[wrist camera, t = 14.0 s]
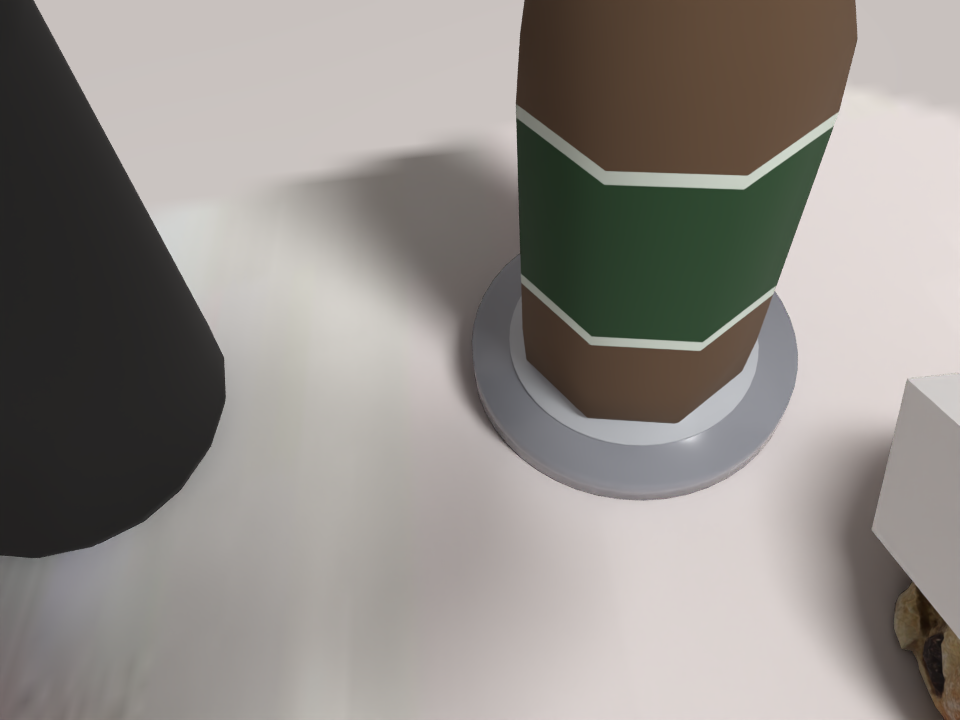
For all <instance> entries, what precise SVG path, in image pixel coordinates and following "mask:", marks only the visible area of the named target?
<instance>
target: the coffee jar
mask: <svg viewBox="0 0 960 720" xmlns="http://www.w3.org/2000/svg"><path fill="white" fill-rule="evenodd" d="M225 398H226V395H225V370H224V357H223V355H222V353H221V350H220V348H219V346H218V344H217V342H216V340H215V338H214V336H213V334H212V332H211V330H210V328H209V326H208V324H207V322H206V320H205V318H204V316H203V314H202V313H201V311H200V309H199V307H198V305H197V303H196V301H195V299H194V298H193V296H192V294H191V292H190V290H189V288H188V286H187V285H186V283H185V281H184V279H183V277H182V275H181V273H180V272H179V270H178V268H177V266H176V264H175V262H174V260H173V259H172V257H171V255H170V253H169V251H168V249H167V247H166V246H165V244H164V242H163V240H162V238H161V236H160V234H159V233H158V231H157V229H156V227H155V225H154V223H153V221H152V220H151V218H150V216H149V214H148V212H147V210H146V208H145V207H144V205H143V203H142V201H141V199H140V197H139V196H138V194H137V192H136V190H135V188H134V186H133V184H132V182H131V181H130V179H129V177H128V175H127V173H126V171H125V169H124V168H123V166H122V164H121V162H120V160H119V158H118V157H117V155H116V153H115V151H114V149H113V147H112V145H111V143H110V142H109V140H108V138H107V136H106V134H105V132H104V130H103V129H102V127H101V125H100V123H99V121H98V119H97V117H96V116H95V114H94V112H93V110H92V108H91V107H90V104H89V103H88V101H87V99H86V97H85V95H84V93H83V92H82V90H81V88H80V86H79V84H78V82H77V80H76V79H75V76H74V75H73V73H72V71H71V69H70V67H69V65H68V64H67V62H66V60H65V58H64V56H63V54H62V52H61V50H60V49H59V47H58V45H57V43H56V41H55V39H54V38H53V36H52V34H51V32H50V30H49V28H48V26H47V24H46V23H45V21H44V19H43V17H42V15H41V13H40V12H39V10H38V8H37V6H36V4H35V2H34V0H0V555H5V556H16V557H27V558H41V557H45V556H50V555H55V554H60V553H64V552H69V551H74V550H79V549H84V548H88V547H92V546H94V545H96V544H99V543H102V542H104V541H106V540H108V539H110V538H112V537H114V536H116V535H118V534H120V533H122V532H124V531H126V530H128V529H130V528H132V527H134V526H136V525H138V524H140V523H142V522H144V521H145V520H146V519H147V518H149V517H150V516H151V515H152V514H153V513H154V512H156V511H157V510H158V509H159V508H160V507H161V506H163V505H164V504H165V503H166V502H167V501H168V500H170V499H171V498H172V497H173V496H174V495H175V494H177V493H178V492H179V491H180V490H181V489H182V487H183V486H184V485H185V483H186V482H187V480H188V479H189V477H190V476H191V474H192V473H193V472H194V470H195V469H196V467H197V466H198V464H199V463H200V462H201V460H202V459H203V457H204V456H205V454H206V452H207V451H208V450H209V448H210V447H211V444H212V441H213V438H214V435H215V432H216V429H217V426H218V423H219V420H220V417H221V414H222V410H223V407H224V404H225Z"/></svg>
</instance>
